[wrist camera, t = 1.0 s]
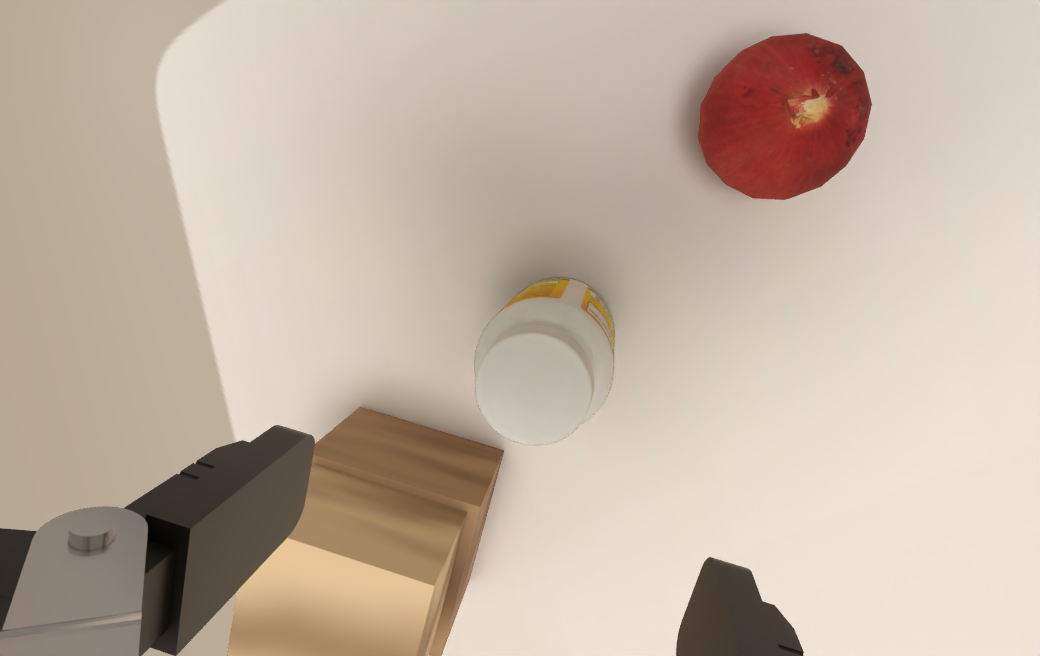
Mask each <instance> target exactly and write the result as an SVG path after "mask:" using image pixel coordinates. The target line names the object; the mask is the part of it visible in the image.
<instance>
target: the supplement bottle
mask: <svg viewBox="0 0 1040 656" xmlns="http://www.w3.org/2000/svg"><path fill="white" fill-rule="evenodd" d="M614 338H615V333H614V324H613V319H612V315H611V313H610V310H609V308H608V307H607V305H606V303H605V302H604V300H603V299H602V298H601V296H600V295H599V294H598V293H597V292H596V291H594V290H593V289H592V288H591V287H589V286H587V285H586V284H584V283H582V282H579V281H576V280H573V279H568V278H549V279H545V280H541V281H538V282H536V283H533V284H531V285H530V286H528V287H527V288H525V289H524V290H522V291H521V292H520V293H519V294H518V295H517V296H516V297H515V298H514V299H513V300H512V301H511V302H510V303H508V304H507V305H506V306H505V307H504V308H503V309H502V310H501V311H500V312H499V313H498V314H497V315H496V316H495V317H494V318H493V319H492V320H491V321H490V322H489V323H488V325H487V326H486V328H485V329H484V331H483V333H482V334H481V336H480V339H479V341H478V344H477V348H476V352H475V359H474V370H475V377H476V379H475V393H476V399H477V403H478V406H479V409H480V411H481V413H482V415H483V416H484V418H485V419H486V421H487V422H488V424H489V425H490V426H491V427H492V428H493V429H494V430H496V431H497V432H498V433H499V434H501V435H502V436H504V437H506V438H507V439H509V440H511V441H514V442H517V443H520V444H525V445H533V446H538V445H547V444H551V443H555V442H557V441H560V440H562V439H564V438H565V437H567V436H569V435H570V434H571V433H573V432H574V431H575V430H576V429H577V428H578V427H579V426H580V425H581V424H583V423H584V422H586V421H587V420H588V419H590V418H591V417H592V416H593V415H594V414H595V413H596V412H597V411H598V410H599V408H600V407H601V406H602V404H603V403H604V401H605V399H606V397H607V395H608V393H609V391H610V388H611V384H612V380H613V373H614Z"/></svg>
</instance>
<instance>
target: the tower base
mask: <svg viewBox="0 0 1040 656" xmlns="http://www.w3.org/2000/svg"><path fill="white" fill-rule="evenodd" d="M503 453H504V450H500V449H497V448H494V447H490V446H487V445H484V444H480V443H477V442H474V441H471V440H467V439H464V438H461V437H457V436H454V435H451V434H447V433H444V432H441V431H438V430H434V429H431V428H428V427H424V426H421V425H418V424H414V423H411V422H408V421H405V420H401V419H398V418H395V417H391V416H388V415H385V414H382V413H378V412H375V411H372V410H368V409H365V408H362V407H359V408H358V409H357V410H356V411H354V412H353V413H352V414H351V415H350V416H348V417H347V418H346V419H345V420H344V421H342V422H341V423H340V424H339V425H338V426H336V427H335V428H334V429H333V430H332V431H330V432H329V433H328V434H327V435H326V436H324V437H323V438H322V439H321V440H320V441H318V442H317V443H316V444H315V446H314V453H313V459H312V465H311V467H312V466H313V465H315V464H316V465H319V466H322V467H325V468H328V469H331V470H335V471H338V472H341V473H344V474H347V475H351V476H354V477H357V478H360V479H363V480H366V481H370V482H373V483H376V484H379V485H382V486H385V487H389V488H392V489H395V490H398V491H401V492H405V493H408V494H411V495H414V496H417V497H420V498H424V499H427V500H430V501H433V502H436V503H439V504H443V505H446V506H449V507H452V508H455V509H458V510H462V511H465V512H467V516H466V520H465V524H464V527H463V531H462V535H461V539H460V543H459V546H458V550H457V554H456V558H455V562H454V566H453V569H452V573H451V577H450V581H449V585H448V588H447V592H446V596H445V600H444V604H443V608H442V611H441V615H440V619H439V623H438V627H437V630H436V634H435V638H434V642H433V646H432V648H431V651H430V653H429V656H441V655H442V653H443V650H444V647H445V644H446V642H447V639H448V636H449V634H450V631H451V628H452V626H453V623H454V620H455V617H456V615H457V612H458V609H459V607H460V604H461V601H462V598H463V596H464V593H465V590H466V588H467V585H468V582H469V579H470V576H471V572H472V568H473V564H474V561H475V557H476V553H477V550H478V546H479V542H480V538H481V535H482V531H483V527H484V523H485V520H486V516H487V512H488V509H489V505H490V501H491V497H492V494H493V490H494V486H495V482H496V479H497V475H498V471H499V468H500V464H501V460H502V456H503Z"/></svg>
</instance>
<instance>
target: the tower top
mask: <svg viewBox="0 0 1040 656" xmlns="http://www.w3.org/2000/svg"><path fill="white" fill-rule="evenodd" d="M466 516H467V512H465V511H462V510H458V509H455V508H452V507H449V506H446V505H443V504H439V503H436V502H433V501H430V500H427V499H424V498H420V497H417V496H414V495H411V494H408V493H405V492H401V491H398V490H395V489H392V488H389V487H385V486H382V485H379V484H376V483H373V482H370V481H366V480H363V479H360V478H357V477H354V476H351V475H347V474H344V473H341V472H338V471H335V470H331V469H328V468H325V467H322V466H319V465H316V464H315V465H313V466H312V467H311V471H310V477H309V483H308V488H307V494H306V500H305V505H304V509H303V512H302V515H301V517H300V519H299V521H298V523H297V525H296V527H295V529H294V530H293V532H292V533H291V534H290V535H289V536H288V537H287V539H286V540H285V541H284V542H283V543H282V544H281V545H280V546H279V547H278V548H277V549H276V550H275V551H274V552H273V553H272V554H271V556H270V557H269V558H268V559H267V560H266V561H265V562H264V563H263V564H262V565H261V566H260V567H259V568H258V569H257V570H256V571H255V573H254V574H253V575H252V576H251V577H250V578H249V579H248V580H247V581H246V582H245V583H244V584H243V585H242V586H241V587H240V588H239V590H238V591H237V596H236V602H235V608H234V614H233V621H232V627H231V633H230V640H229V646H228V653H227V656H429V653H430V651H431V648H432V646H433V642H434V638H435V634H436V630H437V627H438V623H439V619H440V615H441V611H442V608H443V604H444V600H445V596H446V592H447V588H448V585H449V581H450V577H451V573H452V569H453V566H454V562H455V558H456V554H457V550H458V546H459V543H460V539H461V535H462V531H463V527H464V524H465V520H466Z"/></svg>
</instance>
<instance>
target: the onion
mask: <svg viewBox="0 0 1040 656" xmlns="http://www.w3.org/2000/svg"><path fill="white" fill-rule="evenodd" d="M871 105H872V103H871V99H870V95H869V91H868V87H867V83H866V79H865V75H864V72H863V70H862V69H861V68H860V67H859V66H858V64H857V63H856V62H855V61H854V60H853V58H852V57H851V56H850V55H849V54H848V53H847V51H846V50H845V49H844V48H843V47H842V46H841V45H838V44H835V43H832V42H830V41H827V40H824V39H821V38H818V37H816V36H813V35H810V34H807V33H804V34H794V35H783V36H772V37H770V38H768V39H766V40H764V41H761V42H759V43H757V44H755V45H753V46H751V47H749V48H747V49H745V50H742V51H741V52H740V53H739V54H738V55H737V56H736V57H735V58H734V59H733V60H732V61H731V62H730V63H729V64H728V65H727V66H726V67H725V68H724V69H723V70H722V71H721V72H720V73H719V74H718V75H717V76H716V77H715V78H714V80H713V82H712V84H711V86H710V88H709V90H708V92H707V94H706V96H705V98H704V100H703V102H702V104H701V110H700V124H699V133H698V139H699V142H700V145H701V148H702V151H703V154H704V157H705V160H706V162H707V164H708V165H709V166H710V167H711V168H712V170H713V171H714V172H715V173H716V174H717V175H718V176H719V177H720V179H721V180H722V181H723V182H724V183H725V184H726V185H728V186H730V187H732V188H734V189H736V190H738V191H740V192H742V193H744V194H746V195H748V196H750V197H752V198H761V199H779V200H785V199H789V198H792V197H794V196H797V195H800V194H802V193H805V192H808V191H810V190H813V189H816V188H818V187H821V186H822V185H823V184H825V183H826V182H827V181H828V180H829V179H831V178H832V177H833V176H834V175H836V174H837V173H838V172H839V171H840V170H842V169H843V168H844V167H845V166H846V165H847V164H848V162H849V161H850V159H851V158H852V156H853V155H854V153H855V152H856V150H857V149H858V147H859V146H860V144H861V143H862V141H863V140H864V137H865V132H866V128H867V123H868V119H869V114H870V110H871Z"/></svg>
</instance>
